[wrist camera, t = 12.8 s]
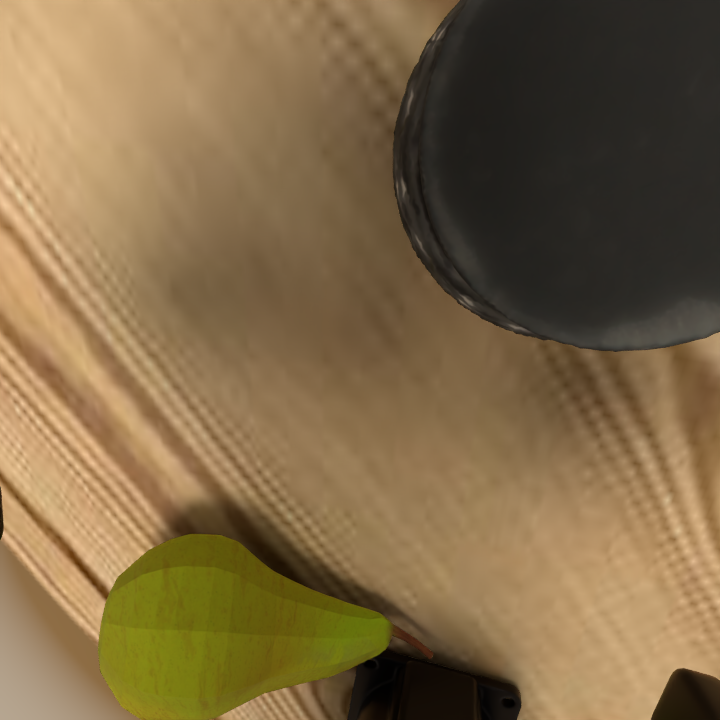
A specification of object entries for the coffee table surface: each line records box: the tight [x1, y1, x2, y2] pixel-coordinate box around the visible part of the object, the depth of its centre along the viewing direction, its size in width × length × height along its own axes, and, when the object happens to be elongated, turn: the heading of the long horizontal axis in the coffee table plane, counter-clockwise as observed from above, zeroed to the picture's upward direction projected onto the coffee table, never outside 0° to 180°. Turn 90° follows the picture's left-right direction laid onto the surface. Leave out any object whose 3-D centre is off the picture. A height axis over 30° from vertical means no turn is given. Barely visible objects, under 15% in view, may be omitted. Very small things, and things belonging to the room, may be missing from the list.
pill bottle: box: [393, 0, 720, 352], centre depth 11 cm, size 6×6×11 cm
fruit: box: [98, 534, 433, 720], centre depth 20 cm, size 6×6×12 cm
